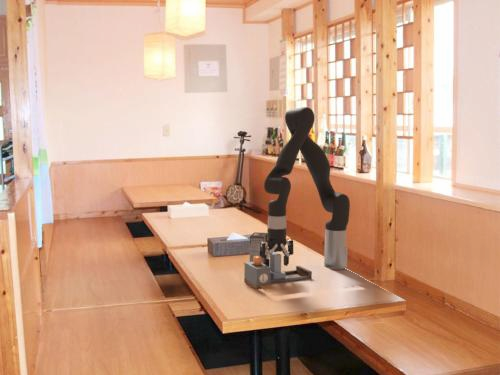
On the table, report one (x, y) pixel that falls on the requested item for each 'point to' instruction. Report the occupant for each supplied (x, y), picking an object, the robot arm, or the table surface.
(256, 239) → the coffee box
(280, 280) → the guide rails
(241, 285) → the table surface
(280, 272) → the carriage
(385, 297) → the table surface
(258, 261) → the button
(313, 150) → the robot arm
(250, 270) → the cabinet
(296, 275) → the rail bed
